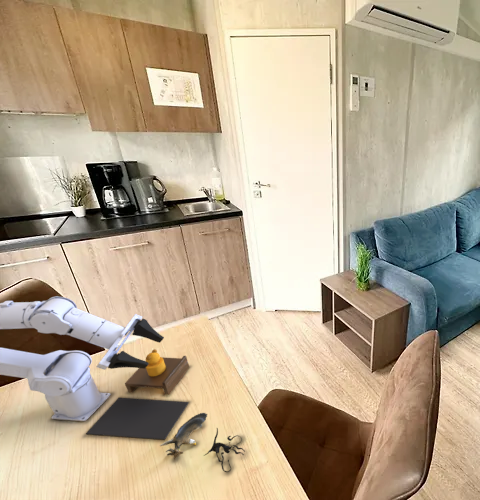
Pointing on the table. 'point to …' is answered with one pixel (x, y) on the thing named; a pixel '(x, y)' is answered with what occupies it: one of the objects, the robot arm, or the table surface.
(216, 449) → the creature
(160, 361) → the orange tiered figure
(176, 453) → the eagle figurine
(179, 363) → the shelf
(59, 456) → the table surface
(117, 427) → the mat
